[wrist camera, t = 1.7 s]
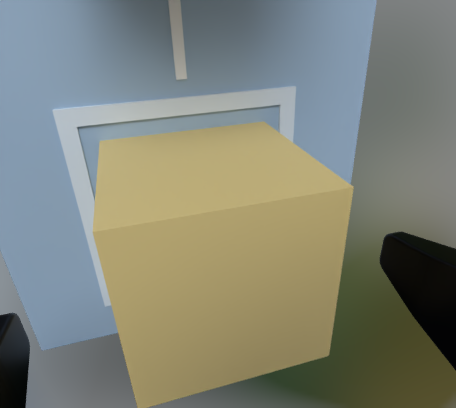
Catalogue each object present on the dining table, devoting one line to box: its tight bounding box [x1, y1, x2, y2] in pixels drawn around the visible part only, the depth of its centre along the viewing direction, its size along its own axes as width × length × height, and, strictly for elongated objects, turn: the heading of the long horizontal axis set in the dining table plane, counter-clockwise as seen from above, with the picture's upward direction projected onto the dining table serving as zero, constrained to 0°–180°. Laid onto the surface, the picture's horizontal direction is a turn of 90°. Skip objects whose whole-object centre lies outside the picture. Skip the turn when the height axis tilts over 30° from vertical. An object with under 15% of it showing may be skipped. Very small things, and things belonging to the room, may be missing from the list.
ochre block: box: [93, 121, 354, 408], centre depth 10 cm, size 5×5×5 cm
